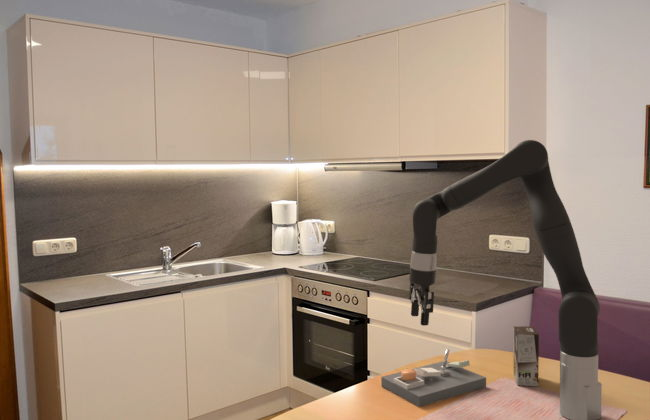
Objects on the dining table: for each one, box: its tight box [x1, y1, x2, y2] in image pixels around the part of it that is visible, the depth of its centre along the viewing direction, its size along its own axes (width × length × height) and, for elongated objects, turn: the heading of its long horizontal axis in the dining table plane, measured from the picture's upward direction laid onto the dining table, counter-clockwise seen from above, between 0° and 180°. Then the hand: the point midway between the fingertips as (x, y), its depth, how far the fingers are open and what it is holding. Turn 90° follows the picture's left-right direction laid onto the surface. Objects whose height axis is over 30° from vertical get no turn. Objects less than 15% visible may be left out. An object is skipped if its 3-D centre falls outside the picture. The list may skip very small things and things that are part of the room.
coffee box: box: [512, 325, 540, 387], centre depth 172 cm, size 9×6×16 cm
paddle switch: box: [448, 359, 470, 368], centre depth 175 cm, size 6×4×2 cm, turn 30°
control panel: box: [380, 360, 487, 408], centre depth 169 cm, size 18×26×4 cm
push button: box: [400, 368, 416, 381], centre depth 164 cm, size 4×4×2 cm
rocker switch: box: [413, 367, 441, 377], centre depth 168 cm, size 4×7×1 cm, turn 120°
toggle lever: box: [441, 348, 450, 371], centre depth 172 cm, size 1×1×7 cm
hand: (419, 320), depth 164 cm, fingers open, 8 cm apart
